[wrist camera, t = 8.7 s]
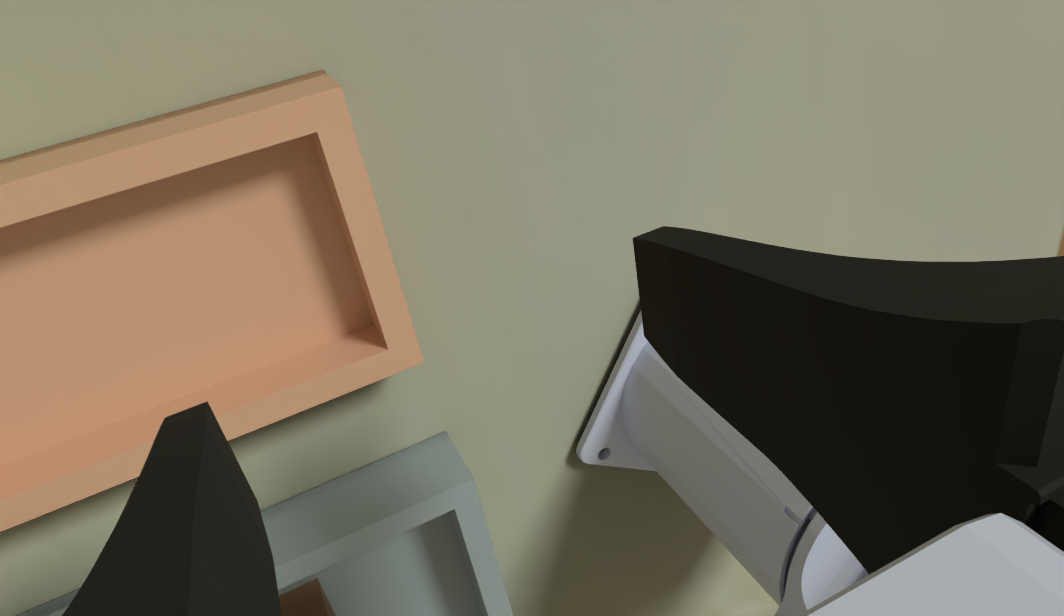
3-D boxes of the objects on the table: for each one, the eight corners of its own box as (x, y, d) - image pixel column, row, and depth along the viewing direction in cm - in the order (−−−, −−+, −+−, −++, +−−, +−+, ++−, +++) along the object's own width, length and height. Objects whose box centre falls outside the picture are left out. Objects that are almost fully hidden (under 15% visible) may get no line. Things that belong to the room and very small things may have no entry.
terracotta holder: (323, 69, 19) (340, 86, 17) (403, 329, 23) (424, 362, 21) (-299, 244, 16) (-348, 285, 14) (-76, 513, 20) (-94, 569, 18)
